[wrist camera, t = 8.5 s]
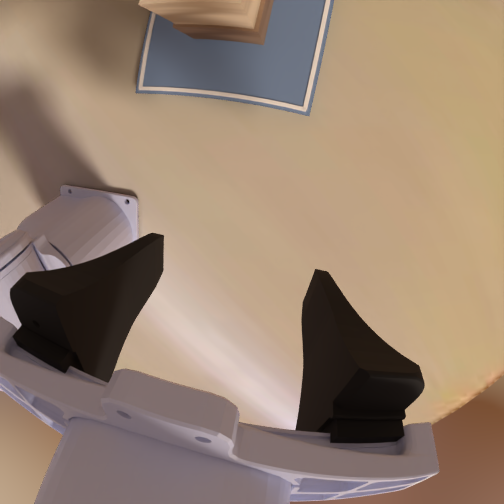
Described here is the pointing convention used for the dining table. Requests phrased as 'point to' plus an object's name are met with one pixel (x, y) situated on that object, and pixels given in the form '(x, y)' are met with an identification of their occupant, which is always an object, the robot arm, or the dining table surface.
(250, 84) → the board
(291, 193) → the dining table surface
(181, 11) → the maple block
